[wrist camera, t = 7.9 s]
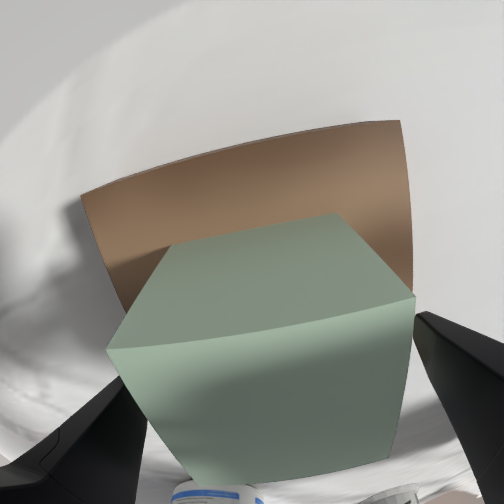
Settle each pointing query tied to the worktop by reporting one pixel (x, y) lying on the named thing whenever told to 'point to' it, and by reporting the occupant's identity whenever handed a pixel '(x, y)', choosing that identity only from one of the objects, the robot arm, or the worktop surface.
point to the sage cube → (270, 352)
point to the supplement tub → (215, 494)
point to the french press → (396, 496)
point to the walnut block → (258, 197)
